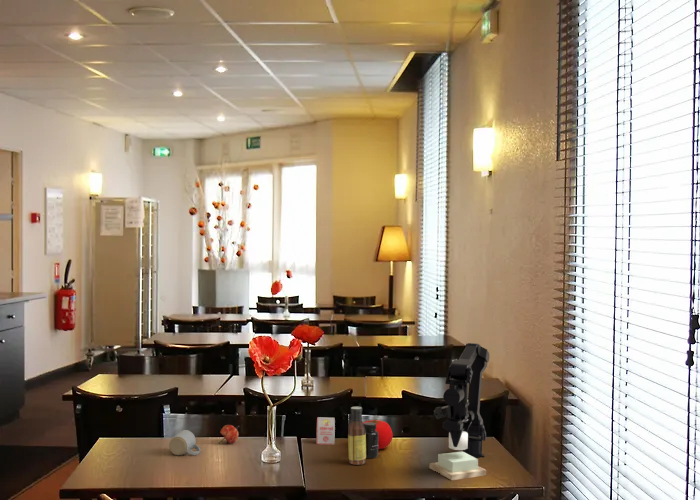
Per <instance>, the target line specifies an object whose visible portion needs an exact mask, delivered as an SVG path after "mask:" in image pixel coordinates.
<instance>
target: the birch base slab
mask: <svg viewBox="0 0 700 500" xmlns="http://www.w3.org/2000/svg"><path fill="white" fill-rule="evenodd" d="M429 469H431V470H432V471H434V472H435V471H436V473H437V472H438V474H439V473H440V474H439V475H441V476H443V477H445V478H447V479H449V480H451V481H455V480H463V479H464V480H465V479H469V478H475V477H482V476H487V469H485V468H483V467H481V466H479V465H478V470H470V471H462V472H454V473H452V472H451V471H449V470H447V469H445V468H444V467H442V466H440V465H439V464H438V461H437V462H431V463H429Z"/></svg>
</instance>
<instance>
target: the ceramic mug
mask: <svg viewBox="0 0 700 500" xmlns="http://www.w3.org/2000/svg"><path fill="white" fill-rule="evenodd" d="M196 440H197V439H196V437H195V434H194V433H193V432H192V431H191V430H189V429H182V430H180V431H178V433H176V434H175V435H174V436H173V437H172V438H171V439H170V441H169V450H170V452H171V453H172V454H173V455H175V456H182V455H186V454H189V455H191V456H198V455H200V453H201V448H200V446H199V445H198V444H196V442H197V441H196ZM193 449H195V450H196V451H194V450H193Z"/></svg>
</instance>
